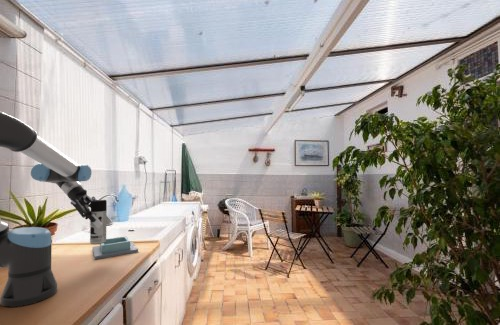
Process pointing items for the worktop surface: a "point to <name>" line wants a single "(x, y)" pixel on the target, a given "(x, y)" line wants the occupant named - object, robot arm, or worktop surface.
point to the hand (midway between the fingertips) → (105, 224)
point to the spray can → (101, 213)
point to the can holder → (114, 248)
